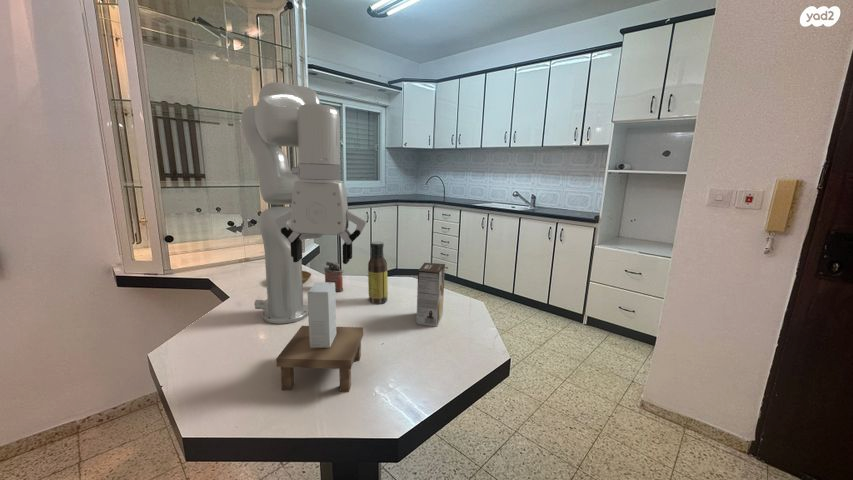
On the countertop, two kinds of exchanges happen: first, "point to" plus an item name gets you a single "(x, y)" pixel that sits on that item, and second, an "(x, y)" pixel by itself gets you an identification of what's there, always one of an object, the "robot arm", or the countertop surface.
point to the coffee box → (430, 294)
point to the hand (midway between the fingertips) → (322, 261)
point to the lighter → (334, 275)
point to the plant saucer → (305, 276)
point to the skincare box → (322, 314)
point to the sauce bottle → (377, 274)
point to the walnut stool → (321, 355)
